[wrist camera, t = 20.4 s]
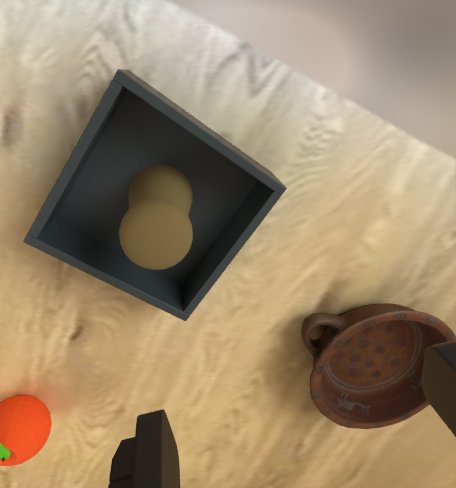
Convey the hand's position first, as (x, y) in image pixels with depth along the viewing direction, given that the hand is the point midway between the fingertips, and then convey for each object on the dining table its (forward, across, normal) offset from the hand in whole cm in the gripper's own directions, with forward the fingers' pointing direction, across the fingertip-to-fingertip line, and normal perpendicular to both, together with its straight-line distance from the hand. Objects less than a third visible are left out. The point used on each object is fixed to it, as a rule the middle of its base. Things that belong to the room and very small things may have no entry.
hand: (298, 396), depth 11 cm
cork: (+27, +5, +2) cm, 27 cm away
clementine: (+27, +26, +23) cm, 44 cm away
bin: (+27, +5, +2) cm, 28 cm away
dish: (+26, -16, +26) cm, 40 cm away
